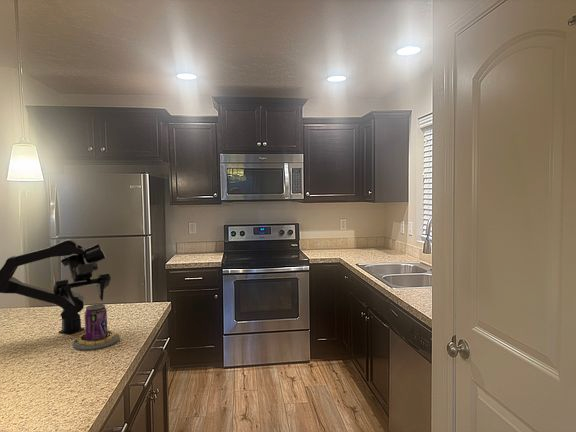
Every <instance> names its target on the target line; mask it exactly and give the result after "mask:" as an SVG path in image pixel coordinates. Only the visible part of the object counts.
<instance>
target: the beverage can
mask: <svg viewBox="0 0 576 432" xmlns="http://www.w3.org/2000/svg"><path fill="white" fill-rule="evenodd" d="M107 330H108V313H107V308H106V305H105V304H104V303H103V304H102V303H98V304H97V303H96V304H91V305H88V306H86V307H85V311H84V333H85V339H86V340H87V341H94V340H100V339H104V338H106V337H107V336H108V333H107Z"/></svg>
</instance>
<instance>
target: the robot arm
mask: <svg viewBox="0 0 576 432" xmlns="http://www.w3.org/2000/svg"><path fill="white" fill-rule="evenodd" d="M54 257H56V258H57V257H63V258H62V259H61V260H60V263H62V265H63V267H67V266H68V269H69V273H70V278H71V279H72V281H70V282H69V280H68V279H61V280H56V281H55V282H54V285H53V289H52V290H50V289H46V288H43V287H40V286H36V285H32V284H30V283H25V282H22V281H20V280H19V279H18V278H16V277H15V276H14V274H15V273H16V270H17V269H18V267H20V266H23V265H24V266H25V265H28V264H32V263H34V262H38V261H41V260H44V259H49V258H54ZM106 259H107V256H106V254H105V251H104V250H103V248H102V246H101V245H100V243H96V244H94V245H92V246H90V247H87V248H86V247H84V246H82V245H79V244H78V242H77V241H76V240H75V239H73V238H68V239H65V240H62V241H61V242H58V243H56V244H54V245H53V244H52V245H51V246H49V247H44V248H41V249H37V250H34V251H31V252H25V253H23V254H19V255H12V256H10V257H8V258H7V259H6V260H5V263H4V265H3V266H1V269H0V294H16V295H19V296H23V297H27V298H31V299H35V300H39V301H42V302H46V303H49V304H53V305H56V306H58V307H60V308H61V309H62V311H61V313H60V317H61V330H58V333H59V334H65V335H72V334H76V333H79V332H81V331H85V327H82V321H81V314H79V313H81V311H83V309H84V307H85V305H86V299H85V297H84V296H83V295H81V293H80V292H79V293H78V292H75V291H72V288H81V287H88V286H92V285H96V287H97V288H96V289H97V294H98V297H99V299H100V301H103V300H104V290H105V289H106V288H107V287H109V285H110V282H111V279H112V277H111V274H110V273H108V272H107V273H101V274H98V275H97V277H96V278H93V279H91V278H92V277H93V273H94V272H96V271H98V269H99V268H98V263H99V262H102V261H104V260H106Z"/></svg>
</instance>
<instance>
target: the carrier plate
mask: <svg viewBox="0 0 576 432" xmlns="http://www.w3.org/2000/svg"><path fill="white" fill-rule="evenodd" d="M107 333H108V336H107V337H106V338H104V339H100V340H94V341H87V340H86V339H85V332H84V333H82V334H80V335H79V336H77V338H76V339H75V340H74V341H73V342H72V348H73V349H74V350H76V351H82V352H83V351H84V352H85V351H86V352H87V351H88V352H89V351H96V350H102V349H106V348H109V347H112V346H113V345H116V344H117V343H119V342H120V334H118V333H117V332H115V331H114V330H112V329H107Z"/></svg>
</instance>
